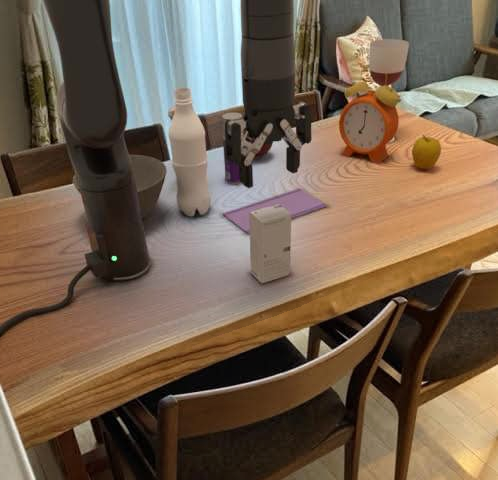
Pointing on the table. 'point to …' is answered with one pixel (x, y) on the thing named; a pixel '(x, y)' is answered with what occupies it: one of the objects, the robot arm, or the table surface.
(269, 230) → the cosmetic box
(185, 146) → the water bottle
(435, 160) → the apple
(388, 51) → the wineglass
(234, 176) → the container
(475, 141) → the table surface
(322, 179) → the table surface
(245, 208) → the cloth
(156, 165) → the bowl
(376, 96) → the alarm clock
